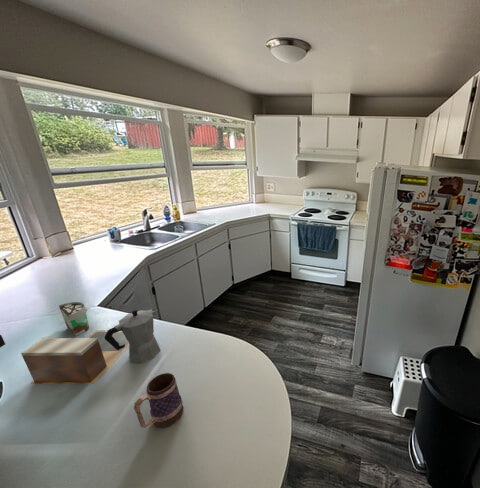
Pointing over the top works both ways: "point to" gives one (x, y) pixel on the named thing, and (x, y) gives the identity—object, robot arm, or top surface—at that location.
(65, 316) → the food container
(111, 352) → the wooden board
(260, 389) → the top surface
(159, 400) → the mug
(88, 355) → the brown rectangular block
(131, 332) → the coffeepot
